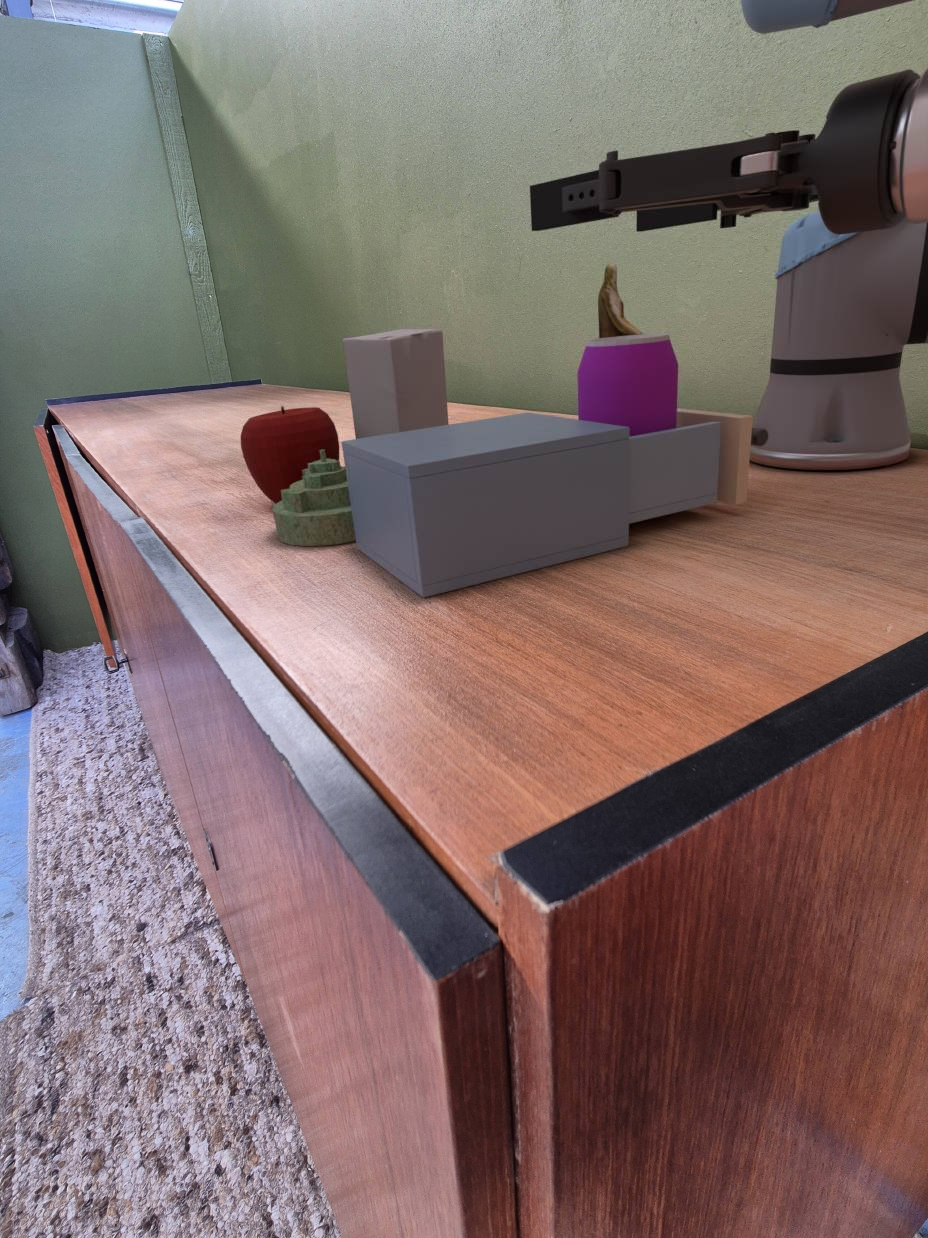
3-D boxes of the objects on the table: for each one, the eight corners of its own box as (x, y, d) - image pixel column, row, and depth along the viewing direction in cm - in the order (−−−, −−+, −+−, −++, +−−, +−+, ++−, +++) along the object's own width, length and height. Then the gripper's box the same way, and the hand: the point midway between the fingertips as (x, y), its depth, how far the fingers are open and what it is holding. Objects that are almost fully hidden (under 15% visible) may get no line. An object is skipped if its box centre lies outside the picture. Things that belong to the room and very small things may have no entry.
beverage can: (669, 479, 62) (674, 331, 57) (679, 501, 55) (685, 334, 50) (580, 483, 63) (577, 339, 59) (579, 505, 57) (575, 343, 52)
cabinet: (532, 510, 64) (528, 412, 61) (629, 546, 52) (629, 426, 49) (357, 548, 58) (341, 441, 54) (423, 598, 46) (408, 465, 43)
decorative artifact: (351, 549, 58) (410, 515, 66) (338, 462, 55) (401, 438, 63) (254, 543, 62) (320, 512, 70) (237, 462, 59) (308, 440, 67)
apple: (249, 503, 76) (229, 407, 73) (337, 489, 79) (322, 396, 76) (259, 522, 68) (238, 415, 64) (356, 505, 71) (341, 402, 67)
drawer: (685, 470, 70) (688, 398, 67) (790, 491, 59) (798, 407, 56) (503, 509, 62) (498, 429, 59) (587, 541, 51) (585, 446, 49)
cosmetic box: (409, 480, 81) (392, 329, 74) (460, 484, 77) (447, 325, 70) (358, 498, 74) (334, 335, 68) (410, 503, 70) (390, 331, 64)
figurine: (651, 476, 72) (655, 256, 64) (575, 477, 75) (570, 266, 67) (655, 466, 76) (659, 259, 69) (582, 467, 79) (579, 267, 71)
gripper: (822, 224, 33) (483, 271, 47) (955, 227, 49) (672, 262, 63) (842, 21, 30) (473, 136, 44) (977, 95, 46) (675, 162, 60)
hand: (590, 210), depth 53 cm, fingers open, 13 cm apart
